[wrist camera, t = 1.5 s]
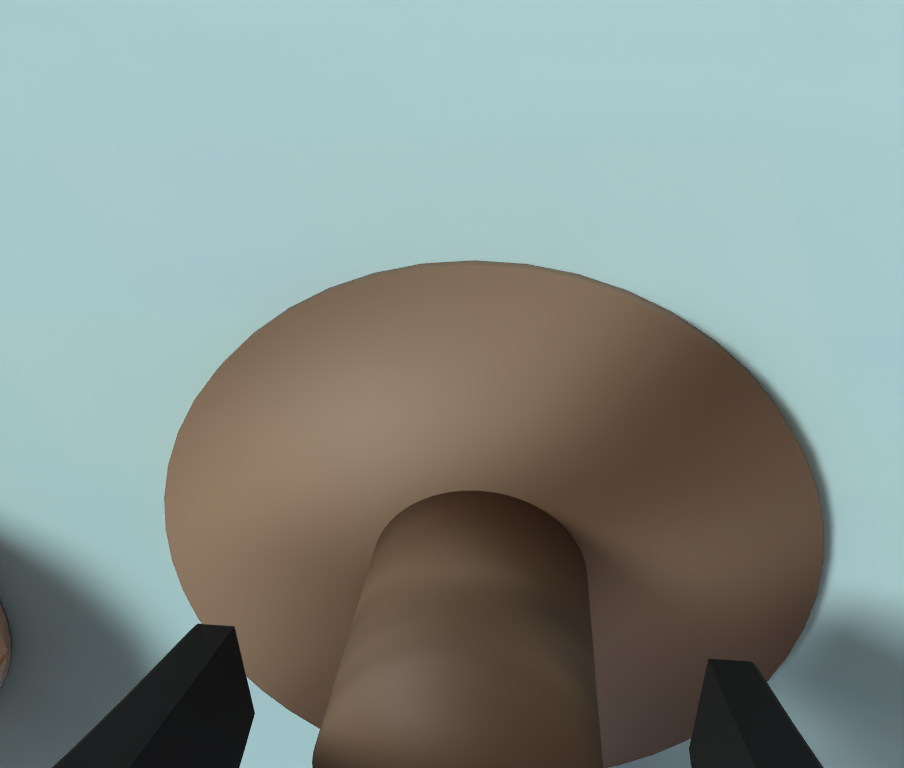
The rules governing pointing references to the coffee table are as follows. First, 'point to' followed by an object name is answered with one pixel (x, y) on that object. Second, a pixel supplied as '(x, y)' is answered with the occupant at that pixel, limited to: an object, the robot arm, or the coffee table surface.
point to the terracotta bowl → (4, 646)
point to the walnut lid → (491, 518)
